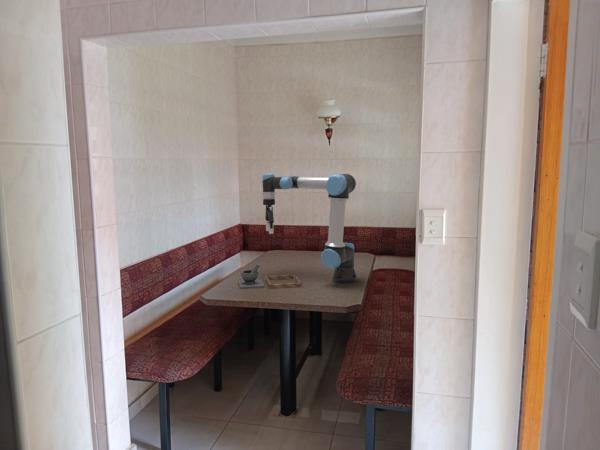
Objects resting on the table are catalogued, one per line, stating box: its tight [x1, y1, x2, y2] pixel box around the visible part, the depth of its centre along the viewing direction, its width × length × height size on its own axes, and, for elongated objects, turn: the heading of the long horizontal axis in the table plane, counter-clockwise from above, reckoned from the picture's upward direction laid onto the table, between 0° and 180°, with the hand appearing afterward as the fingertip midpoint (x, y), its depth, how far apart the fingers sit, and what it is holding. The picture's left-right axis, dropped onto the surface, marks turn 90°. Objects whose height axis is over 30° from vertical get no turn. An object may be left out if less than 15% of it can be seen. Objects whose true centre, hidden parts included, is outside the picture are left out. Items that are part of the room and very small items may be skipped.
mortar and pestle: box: [240, 262, 261, 284], centre depth 272 cm, size 11×9×12 cm
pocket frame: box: [264, 274, 303, 290], centre depth 277 cm, size 19×22×2 cm
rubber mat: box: [238, 278, 265, 290], centre depth 273 cm, size 14×16×1 cm
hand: (269, 232), depth 291 cm, fingers open, 13 cm apart
